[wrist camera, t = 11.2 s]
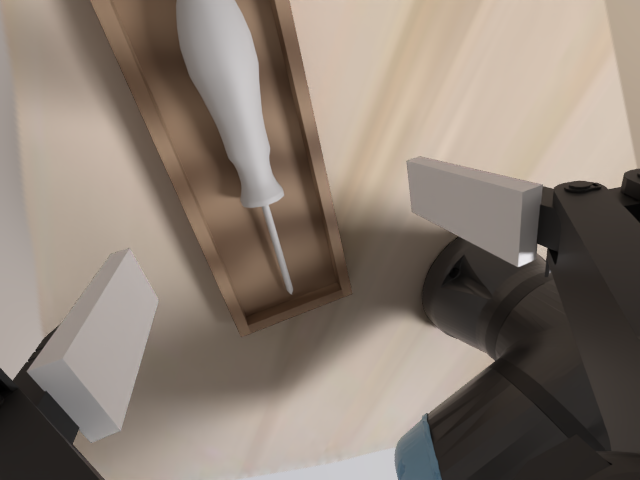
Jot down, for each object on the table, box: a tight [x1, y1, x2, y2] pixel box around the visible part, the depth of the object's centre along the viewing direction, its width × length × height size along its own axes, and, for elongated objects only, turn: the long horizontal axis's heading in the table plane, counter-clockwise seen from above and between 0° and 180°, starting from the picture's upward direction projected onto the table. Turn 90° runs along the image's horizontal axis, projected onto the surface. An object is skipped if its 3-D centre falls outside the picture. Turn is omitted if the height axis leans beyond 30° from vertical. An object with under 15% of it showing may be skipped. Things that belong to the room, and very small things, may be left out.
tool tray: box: [90, 0, 352, 337], centre depth 27 cm, size 30×12×2 cm, turn 13°
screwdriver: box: [176, 0, 293, 295], centre depth 25 cm, size 5×25×4 cm, turn 12°
